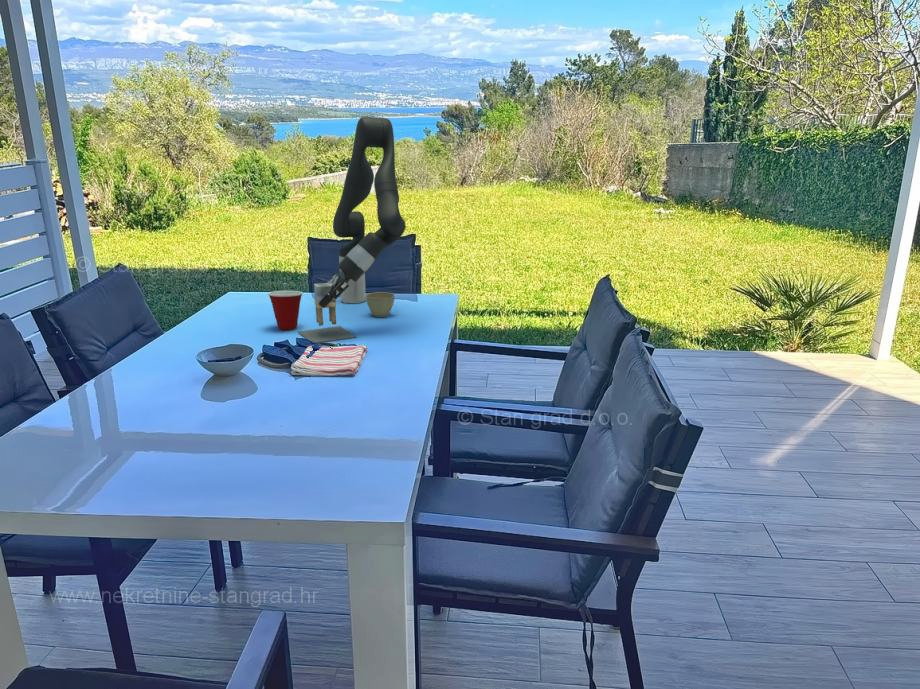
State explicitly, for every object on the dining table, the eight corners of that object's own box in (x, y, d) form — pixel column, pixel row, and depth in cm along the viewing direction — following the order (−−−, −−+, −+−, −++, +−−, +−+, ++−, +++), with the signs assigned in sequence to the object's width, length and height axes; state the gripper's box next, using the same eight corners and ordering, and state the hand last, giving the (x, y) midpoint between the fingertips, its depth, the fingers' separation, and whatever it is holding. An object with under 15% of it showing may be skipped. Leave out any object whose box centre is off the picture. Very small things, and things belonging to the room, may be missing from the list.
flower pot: (362, 313, 235) (361, 293, 233) (389, 310, 239) (389, 291, 237) (371, 320, 226) (370, 299, 224) (399, 317, 230) (398, 296, 228)
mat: (297, 332, 210) (297, 331, 210) (339, 327, 217) (339, 325, 217) (312, 343, 199) (312, 342, 198) (356, 337, 205) (356, 336, 205)
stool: (333, 320, 210) (331, 282, 207) (337, 324, 205) (335, 285, 202) (315, 321, 208) (313, 283, 205) (318, 325, 203) (316, 287, 200)
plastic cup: (309, 324, 220) (307, 288, 216) (298, 333, 210) (296, 295, 206) (277, 323, 221) (275, 287, 217) (265, 331, 211) (262, 294, 207)
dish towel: (288, 378, 171) (287, 365, 170) (310, 351, 194) (309, 339, 193) (355, 379, 171) (354, 366, 170) (368, 352, 193) (368, 340, 192)
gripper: (342, 251, 210) (306, 291, 209) (352, 258, 197) (313, 301, 196) (360, 267, 213) (324, 306, 212) (370, 275, 200) (332, 317, 199)
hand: (319, 303), depth 204 cm, fingers closed on stool, 5 cm apart
